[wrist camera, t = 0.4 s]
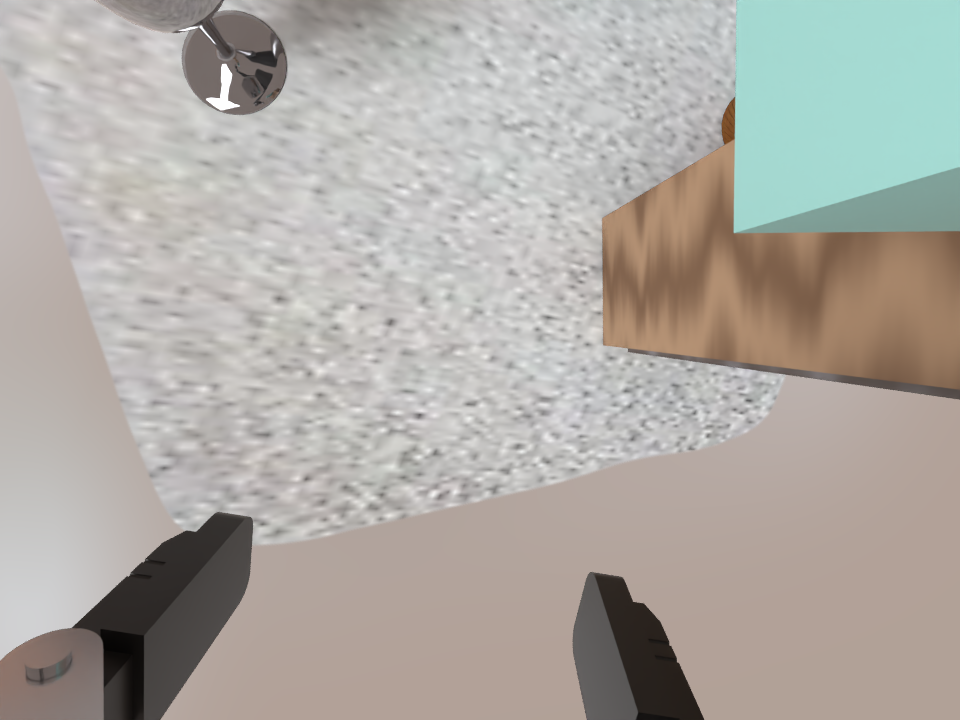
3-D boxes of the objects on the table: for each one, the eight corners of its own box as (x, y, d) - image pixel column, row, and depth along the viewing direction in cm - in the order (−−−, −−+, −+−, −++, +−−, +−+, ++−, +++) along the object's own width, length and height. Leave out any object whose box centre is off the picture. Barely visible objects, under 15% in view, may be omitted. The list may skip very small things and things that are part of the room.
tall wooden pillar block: (602, 218, 39) (1409, -265, 7) (749, 217, 40) (2003, -194, 8) (603, 350, 39) (1330, 461, 8) (747, 345, 41) (1880, 422, 9)
